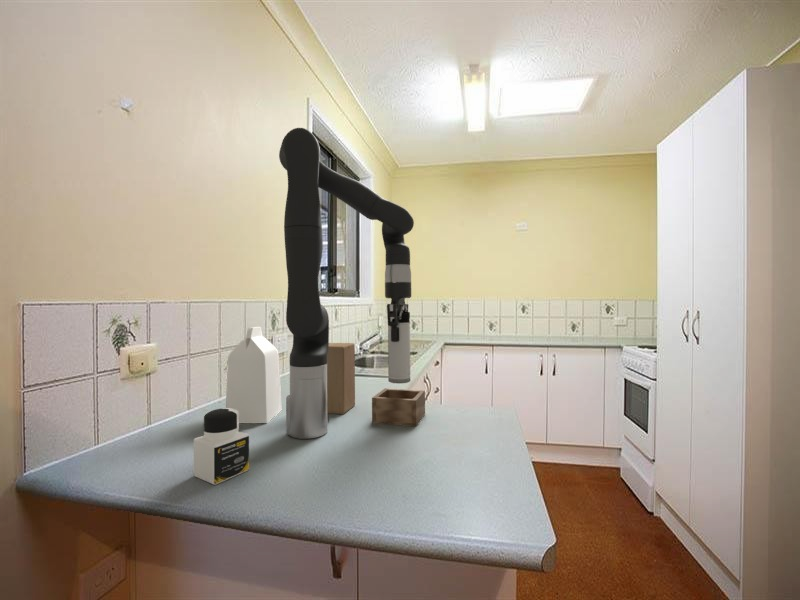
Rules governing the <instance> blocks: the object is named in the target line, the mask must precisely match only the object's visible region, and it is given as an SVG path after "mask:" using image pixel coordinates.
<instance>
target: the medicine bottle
mask: <svg viewBox="0 0 800 600" xmlns="http://www.w3.org/2000/svg"><path fill="white" fill-rule="evenodd" d="M239 430H240V424H239V412H238V411H237V410H235V409H232V408H226V407H223V408H215V409H213V410H211V411H209V412H207V413H205V414H204V416H203V435H201V436H198V437H195V438H193V477H196V478H198V479H200V480H203V481H204V482H207V483H208V484H211V485H214V486H217V485H219V484H221V483H224V482H225V481H227V480H230V479H232V478H234V477H237V476H239V475H241V474H244V473H245V472H248V471H249V470H250V435H249V434H248V433H245V432H242V431H239Z"/></svg>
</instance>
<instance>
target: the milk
mask: <svg viewBox="0 0 800 600" xmlns="http://www.w3.org/2000/svg"><path fill="white" fill-rule="evenodd" d="M246 331H247V332H246V336H245V338H242V340H241V341H239V343H238V345H237V346H236V347H235V348H233V350H232V351H231V352H230V353H229V354H228V358H227V366H226V367H227V369H226V371H227V372H226V393H225V394H226V395H225V408H232V409H235V410H237V411H238V412H239V423H267V424H268V423H270V420H271V419H272V418H273V417H274V416H275V417H276V416H278V415H279V414H280V413H281V412H282V411H283V410H282V408H283V407H282V391H281V389H282V388H281V374H280V373H281V372H280V358H279V350H278V349H277V348H276V347H275V345H274V344H272V343H271V342H270V341H269V340H268V338H266V337H265V336H263V332H262V331H263V330H262V326H253V327H247V330H246ZM281 410H282V411H281ZM280 411H281V412H280ZM279 412H280V413H279ZM278 413H279V414H278ZM277 414H278V415H277ZM275 417H274V418H275ZM274 418H273V419H274ZM273 419H272V420H273ZM272 420H271V421H272Z"/></svg>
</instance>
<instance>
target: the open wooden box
mask: <svg viewBox="0 0 800 600" xmlns="http://www.w3.org/2000/svg"><path fill="white" fill-rule="evenodd" d="M424 414H425V415H426V391H425V390H423V389H422V390H421V389H420V390H419V389H404V388H403V389H401V388H400V389H399V388H383V389H382V390H381V391H379V392H378V393H376V394H375V395H373V396H372V397H371V423H372V424H381V425H382V424H384V425H395V426H408V427H417V426H418V425H419V424H418V423H420V422H421V421H422V419H423V418H424V416H425V415H424ZM423 415H424V416H423ZM422 417H423V418H422ZM420 420H421V421H420Z"/></svg>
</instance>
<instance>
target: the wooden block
mask: <svg viewBox="0 0 800 600" xmlns="http://www.w3.org/2000/svg"><path fill="white" fill-rule="evenodd" d="M355 348H356V347H355V343H353V342H329V348H328V355H327V414H332V413H333V414H334V415H344V414H346V413H347V412H348V411H349V410H351V409H353V408H354V407H355V405H356V376H355V375H356V372H355V371H356V368H355V367H356V366H355V365H356V361H355V359H356V357H355V356H356V354H355V352H356V350H355Z"/></svg>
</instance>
